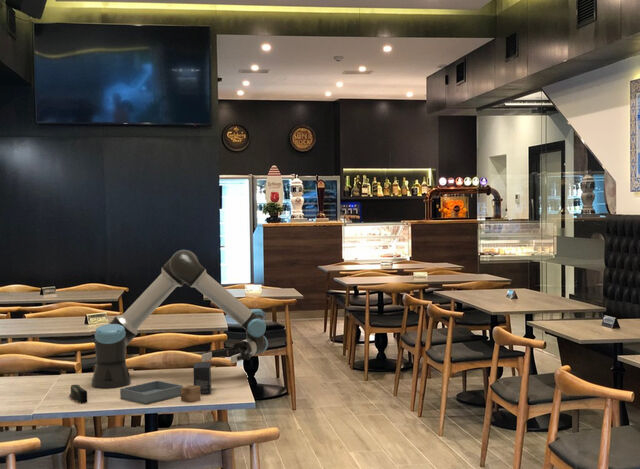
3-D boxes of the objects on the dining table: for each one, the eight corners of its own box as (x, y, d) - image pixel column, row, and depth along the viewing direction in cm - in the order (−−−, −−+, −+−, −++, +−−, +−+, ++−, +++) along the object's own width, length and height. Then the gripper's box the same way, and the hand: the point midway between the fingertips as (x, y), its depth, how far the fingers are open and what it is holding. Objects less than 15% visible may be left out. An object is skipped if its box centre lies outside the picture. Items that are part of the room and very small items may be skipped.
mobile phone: (88, 390, 278) (75, 382, 290) (80, 391, 277) (67, 383, 289) (88, 403, 279) (75, 395, 291) (80, 404, 277) (67, 396, 289)
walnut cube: (181, 401, 278) (180, 387, 278) (189, 398, 283) (189, 384, 282) (191, 402, 276) (191, 389, 276) (200, 399, 280) (200, 386, 280)
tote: (120, 398, 284) (120, 388, 284) (157, 389, 297) (157, 380, 297) (146, 404, 274) (146, 394, 274) (183, 395, 287) (183, 385, 287)
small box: (194, 388, 298) (194, 361, 297) (211, 388, 298) (211, 361, 298) (193, 395, 287) (192, 367, 287) (210, 394, 288) (210, 366, 288)
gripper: (270, 359, 316) (244, 370, 297) (218, 357, 326) (190, 366, 307) (269, 341, 316) (244, 351, 296) (218, 339, 326) (190, 348, 307)
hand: (216, 359), depth 302 cm, fingers open, 13 cm apart
